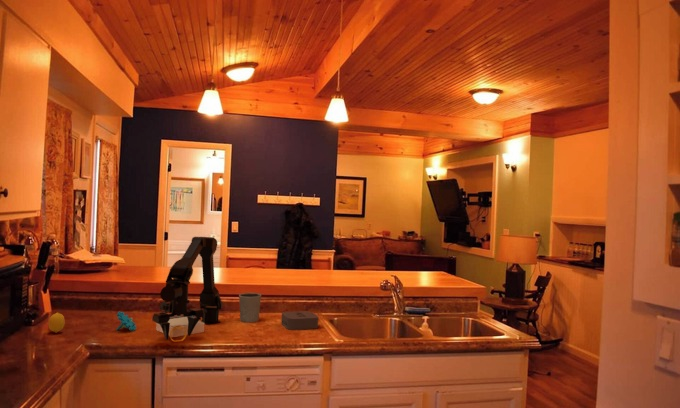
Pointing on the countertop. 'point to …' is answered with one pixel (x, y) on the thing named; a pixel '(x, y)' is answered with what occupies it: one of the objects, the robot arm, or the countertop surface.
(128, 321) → the teal lumpy piece
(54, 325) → the lemon
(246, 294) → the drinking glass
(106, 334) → the countertop surface
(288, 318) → the streaming box
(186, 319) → the stand
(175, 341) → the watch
